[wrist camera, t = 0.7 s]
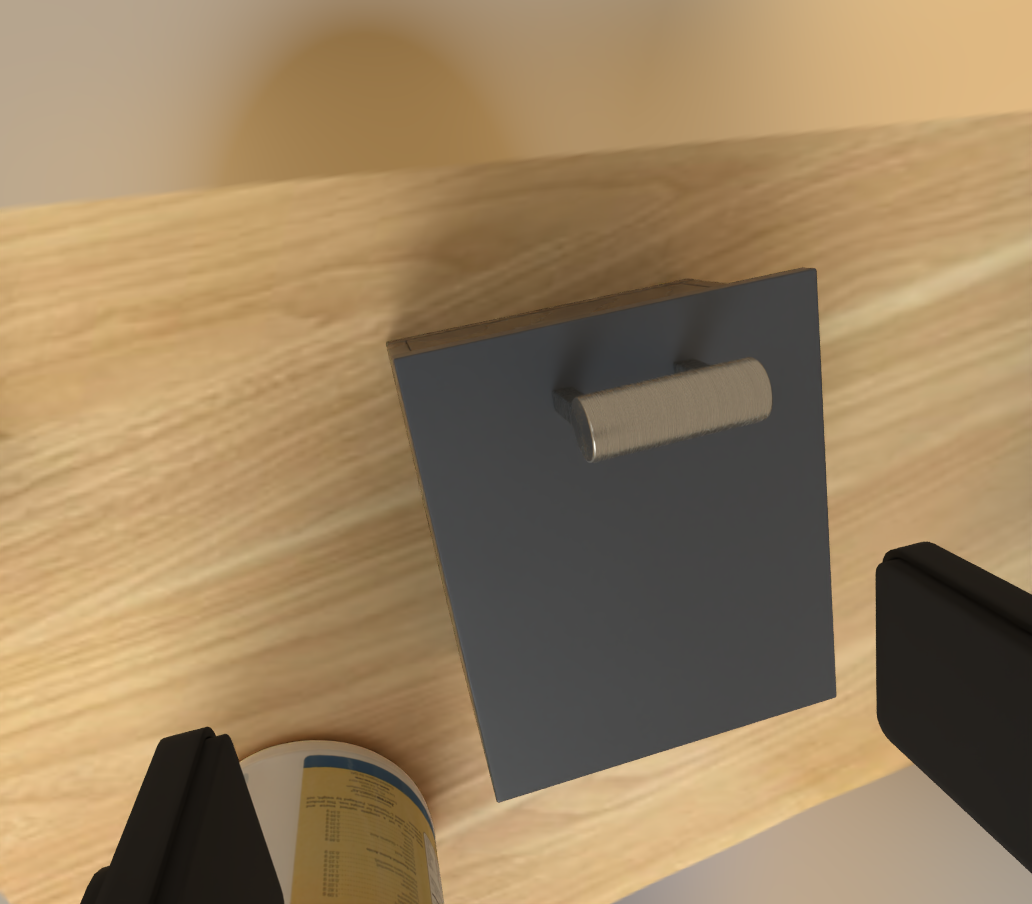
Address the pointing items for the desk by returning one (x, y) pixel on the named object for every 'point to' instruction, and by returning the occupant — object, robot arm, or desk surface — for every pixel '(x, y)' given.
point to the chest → (515, 323)
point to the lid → (631, 523)
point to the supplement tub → (343, 825)
